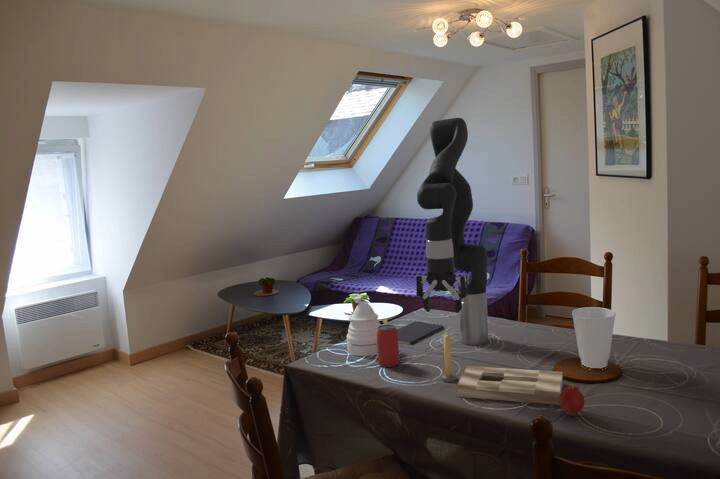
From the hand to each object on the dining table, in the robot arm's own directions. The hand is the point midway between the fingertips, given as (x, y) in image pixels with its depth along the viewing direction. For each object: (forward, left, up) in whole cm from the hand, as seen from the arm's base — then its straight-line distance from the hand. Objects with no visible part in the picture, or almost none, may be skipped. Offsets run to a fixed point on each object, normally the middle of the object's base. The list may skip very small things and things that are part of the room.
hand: (442, 311), depth 173 cm
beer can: (-9, -20, -20) cm, 30 cm away
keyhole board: (+4, +19, -20) cm, 28 cm away
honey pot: (-21, -32, -20) cm, 44 cm away
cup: (-18, +40, -20) cm, 48 cm away
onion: (+17, +35, -20) cm, 44 cm away
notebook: (-40, -21, -21) cm, 50 cm away
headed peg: (0, +1, -20) cm, 20 cm away
